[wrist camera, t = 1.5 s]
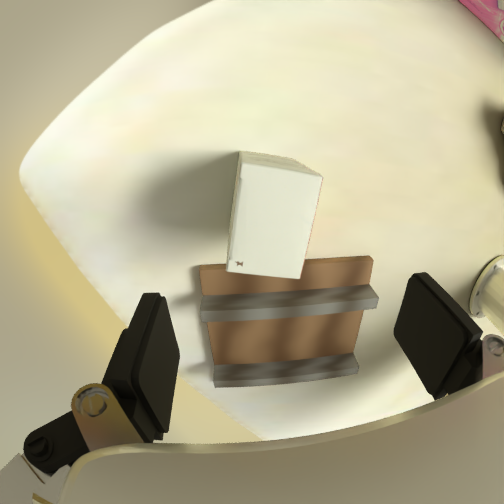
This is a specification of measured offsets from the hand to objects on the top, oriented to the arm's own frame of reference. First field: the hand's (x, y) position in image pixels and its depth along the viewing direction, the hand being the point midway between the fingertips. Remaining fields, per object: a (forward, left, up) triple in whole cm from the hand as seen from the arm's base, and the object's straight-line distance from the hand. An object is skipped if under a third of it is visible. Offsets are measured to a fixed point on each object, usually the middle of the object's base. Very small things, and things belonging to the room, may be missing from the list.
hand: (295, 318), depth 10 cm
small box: (0, 0, -20) cm, 20 cm away
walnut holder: (-3, +18, -20) cm, 27 cm away
